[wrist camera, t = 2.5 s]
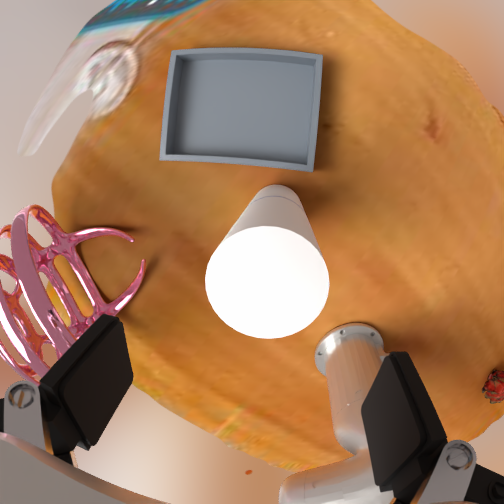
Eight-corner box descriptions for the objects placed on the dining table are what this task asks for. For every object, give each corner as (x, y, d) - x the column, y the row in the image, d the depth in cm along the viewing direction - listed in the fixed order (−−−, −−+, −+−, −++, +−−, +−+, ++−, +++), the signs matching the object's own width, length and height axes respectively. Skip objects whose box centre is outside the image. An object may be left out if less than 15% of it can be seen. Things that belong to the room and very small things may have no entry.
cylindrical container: (273, 173, 38) (259, 198, 14) (312, 207, 39) (354, 283, 15) (240, 211, 40) (182, 289, 17) (278, 244, 41) (271, 356, 18)
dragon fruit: (490, 385, 49) (481, 363, 49) (515, 379, 42) (508, 355, 42) (485, 411, 44) (477, 390, 44) (512, 405, 37) (506, 383, 37)
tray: (319, 64, 32) (322, 55, 28) (309, 171, 37) (312, 172, 34) (181, 58, 34) (171, 50, 30) (170, 159, 39) (159, 160, 35)
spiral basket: (100, 162, 20) (-82, 308, 11) (216, 372, 34) (65, 454, 25) (97, 160, 42) (-16, 236, 33) (159, 285, 56) (59, 346, 47)
